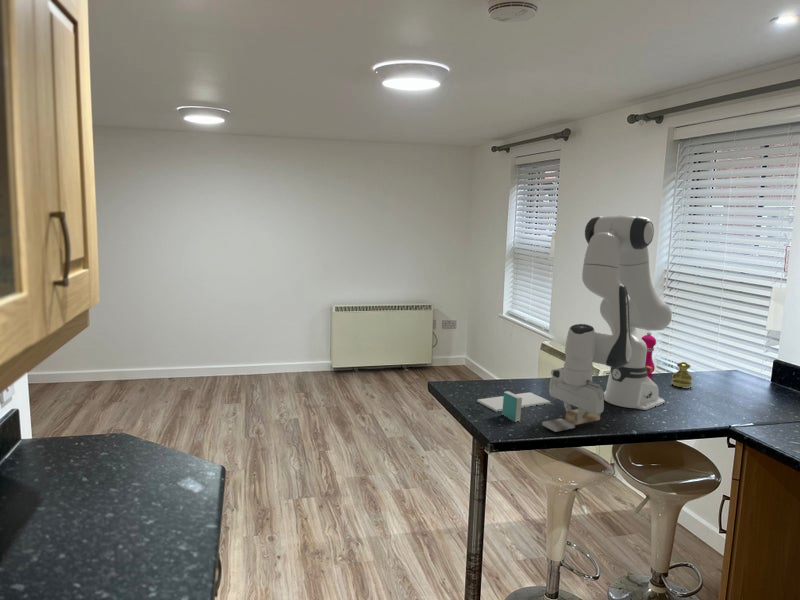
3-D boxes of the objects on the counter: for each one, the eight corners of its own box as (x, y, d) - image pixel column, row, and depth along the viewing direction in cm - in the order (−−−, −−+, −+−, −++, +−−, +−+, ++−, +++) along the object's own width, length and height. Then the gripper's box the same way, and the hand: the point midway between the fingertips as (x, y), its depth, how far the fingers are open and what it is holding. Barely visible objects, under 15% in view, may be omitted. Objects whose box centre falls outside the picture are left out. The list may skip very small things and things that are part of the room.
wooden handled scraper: (590, 415, 195) (591, 403, 194) (604, 421, 189) (605, 409, 189) (541, 425, 184) (542, 412, 184) (555, 431, 179) (556, 419, 179)
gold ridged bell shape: (667, 383, 243) (670, 359, 241) (684, 383, 244) (687, 360, 242) (677, 389, 236) (680, 364, 234) (695, 389, 236) (698, 365, 235)
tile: (506, 414, 196) (508, 391, 195) (520, 421, 190) (522, 397, 189) (501, 415, 195) (503, 391, 194) (515, 422, 189) (517, 398, 188)
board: (529, 394, 219) (530, 392, 219) (550, 403, 209) (550, 401, 209) (477, 401, 208) (477, 399, 207) (496, 411, 198) (496, 409, 198)
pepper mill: (655, 381, 245) (660, 334, 242) (636, 379, 246) (642, 332, 243) (651, 376, 252) (656, 330, 249) (633, 374, 254) (638, 329, 250)
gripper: (610, 384, 177) (606, 428, 179) (562, 366, 195) (558, 406, 197) (595, 387, 174) (591, 431, 176) (547, 369, 191) (544, 409, 194)
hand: (573, 418), depth 187 cm, fingers closed on wooden handled scraper, 2 cm apart
